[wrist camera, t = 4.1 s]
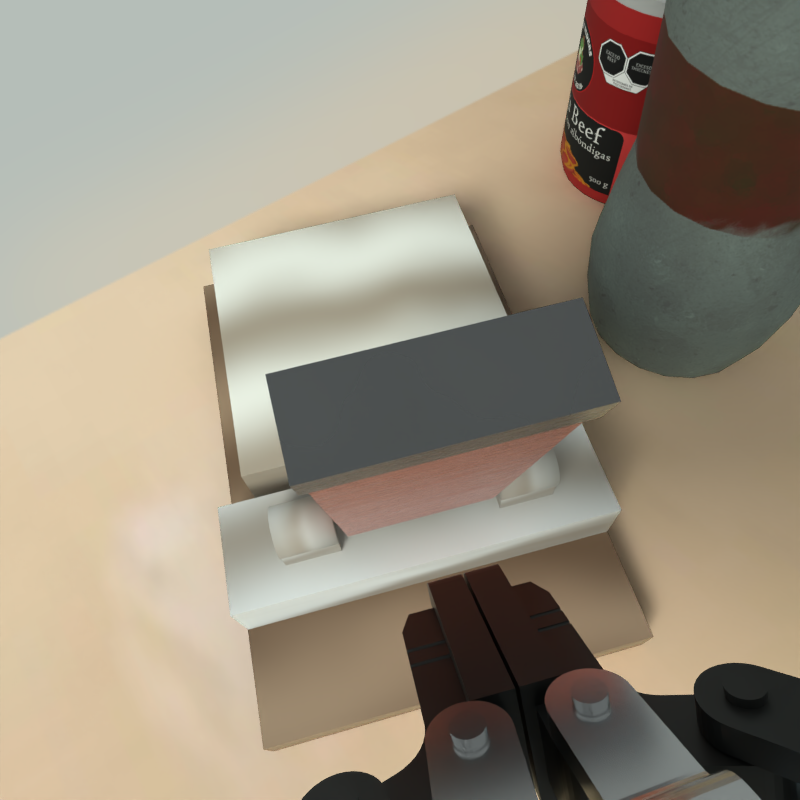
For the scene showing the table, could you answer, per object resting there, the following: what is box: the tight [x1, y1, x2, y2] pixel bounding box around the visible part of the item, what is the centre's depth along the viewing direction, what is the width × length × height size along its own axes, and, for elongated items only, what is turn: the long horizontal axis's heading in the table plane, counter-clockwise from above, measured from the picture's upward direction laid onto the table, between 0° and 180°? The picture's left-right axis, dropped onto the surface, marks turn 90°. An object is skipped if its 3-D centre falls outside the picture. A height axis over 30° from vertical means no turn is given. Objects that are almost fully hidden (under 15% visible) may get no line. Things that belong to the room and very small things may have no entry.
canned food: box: [561, 0, 666, 203], centre depth 32 cm, size 8×8×11 cm
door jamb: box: [204, 194, 653, 751], centre depth 26 cm, size 21×14×6 cm, turn 14°
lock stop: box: [265, 297, 621, 537], centre depth 16 cm, size 2×5×14 cm, turn 104°
